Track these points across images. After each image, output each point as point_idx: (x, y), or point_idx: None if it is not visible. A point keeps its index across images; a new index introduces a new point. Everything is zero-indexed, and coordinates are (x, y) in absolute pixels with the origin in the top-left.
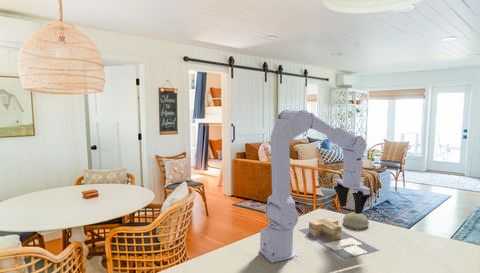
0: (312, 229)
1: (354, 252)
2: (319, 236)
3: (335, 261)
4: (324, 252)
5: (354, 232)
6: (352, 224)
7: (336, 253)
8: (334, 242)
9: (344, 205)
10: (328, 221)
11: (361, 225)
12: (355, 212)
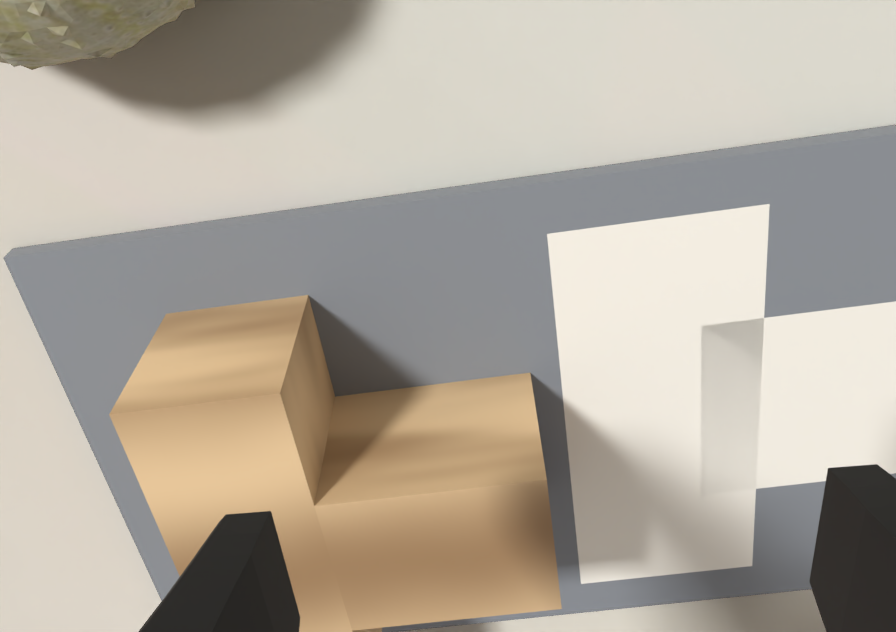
0: None
1: (894, 430)
2: None
3: None
4: (711, 626)
5: (332, 18)
6: (193, 2)
7: None
8: (596, 490)
9: (277, 565)
10: (280, 532)
11: None
12: (824, 606)
